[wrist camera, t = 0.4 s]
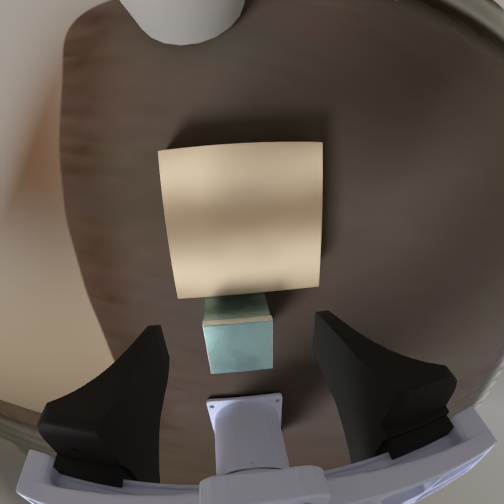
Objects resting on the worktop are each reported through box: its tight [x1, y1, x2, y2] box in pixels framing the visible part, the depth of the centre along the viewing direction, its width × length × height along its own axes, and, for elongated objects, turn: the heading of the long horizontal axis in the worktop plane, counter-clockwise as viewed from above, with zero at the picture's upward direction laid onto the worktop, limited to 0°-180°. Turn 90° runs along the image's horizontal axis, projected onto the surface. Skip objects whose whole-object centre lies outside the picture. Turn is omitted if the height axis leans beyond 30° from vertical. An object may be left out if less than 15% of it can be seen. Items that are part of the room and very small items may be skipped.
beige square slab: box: [158, 142, 323, 299], centre depth 19 cm, size 10×10×3 cm
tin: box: [203, 292, 273, 374], centre depth 21 cm, size 4×4×5 cm
